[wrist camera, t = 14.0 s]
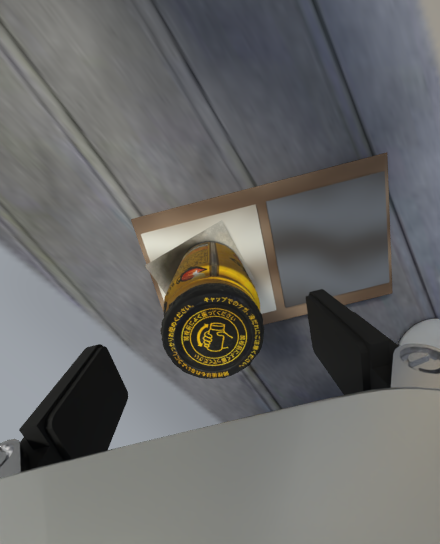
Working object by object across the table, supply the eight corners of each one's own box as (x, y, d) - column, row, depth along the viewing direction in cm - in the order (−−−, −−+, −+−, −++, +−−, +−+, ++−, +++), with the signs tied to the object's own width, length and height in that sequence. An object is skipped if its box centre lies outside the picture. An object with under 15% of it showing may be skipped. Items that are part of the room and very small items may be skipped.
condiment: (257, 283, 23) (303, 359, 12) (185, 322, 24) (164, 428, 13) (221, 219, 22) (235, 236, 10) (145, 264, 22) (77, 327, 11)
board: (135, 218, 23) (129, 219, 21) (375, 155, 22) (389, 151, 20) (177, 338, 27) (175, 347, 25) (382, 288, 26) (394, 294, 24)
